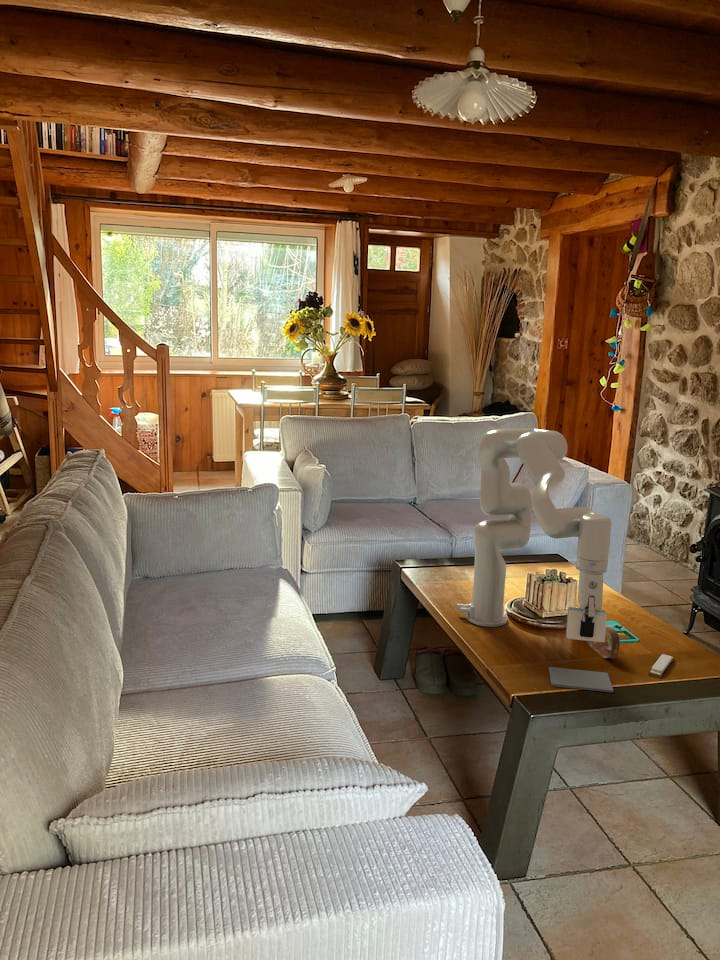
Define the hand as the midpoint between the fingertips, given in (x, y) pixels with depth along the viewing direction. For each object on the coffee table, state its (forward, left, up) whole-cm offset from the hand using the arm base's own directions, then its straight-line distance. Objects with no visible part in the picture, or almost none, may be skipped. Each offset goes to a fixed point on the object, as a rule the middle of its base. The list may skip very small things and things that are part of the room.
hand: (585, 632), depth 191 cm
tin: (+8, +20, -13) cm, 26 cm away
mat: (0, 0, -13) cm, 13 cm away
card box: (0, 0, -1) cm, 1 cm away
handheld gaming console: (+14, +36, -14) cm, 41 cm away
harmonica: (+23, +14, -14) cm, 30 cm away
